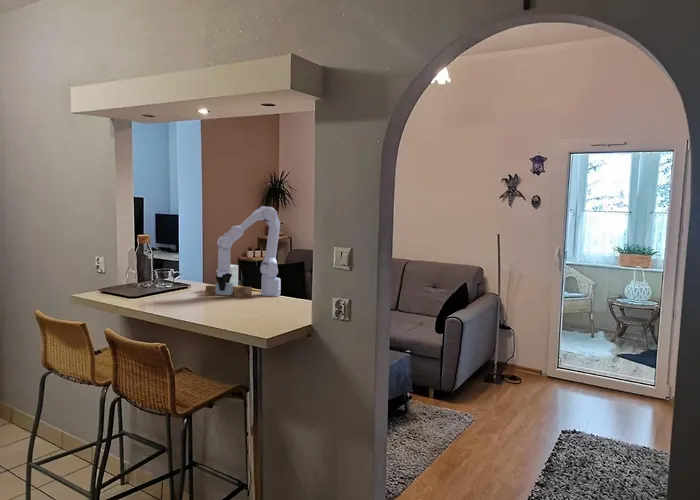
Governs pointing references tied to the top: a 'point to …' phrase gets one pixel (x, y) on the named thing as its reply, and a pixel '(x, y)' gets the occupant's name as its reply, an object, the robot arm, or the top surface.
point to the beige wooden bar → (237, 291)
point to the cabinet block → (227, 289)
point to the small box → (234, 275)
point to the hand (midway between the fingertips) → (223, 289)
